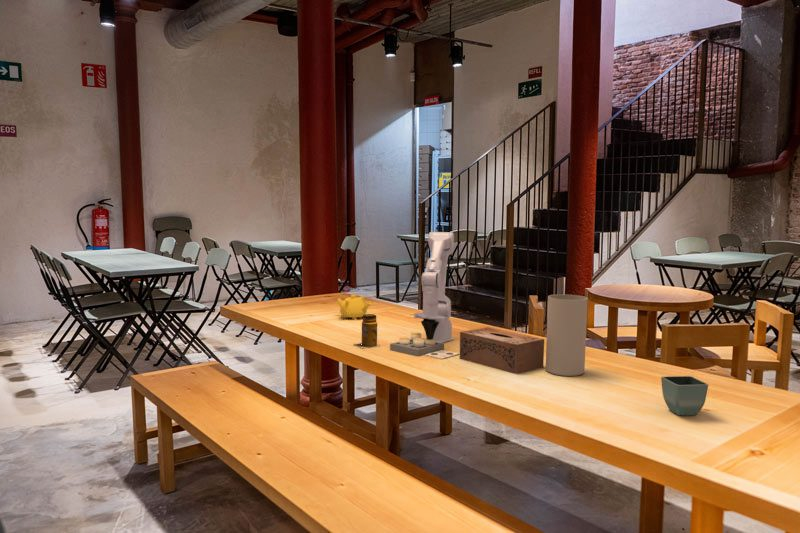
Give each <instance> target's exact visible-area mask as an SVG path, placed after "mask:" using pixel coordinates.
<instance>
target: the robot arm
mask: <svg viewBox="0 0 800 533" xmlns="http://www.w3.org/2000/svg"><path fill="white" fill-rule="evenodd" d="M454 234H455V233H454V232H452V231H450V232H447V231H445V232H443V231H430V232H429V233H428V238H427V240H428V242H427V243H428V247H429V251H430V253H431V256H430V257H429V258H428V259H427V261H426V266H425V270H424V272H422V274H421V279H420V280H421V290H422V312H414V315H413V319H421V321H420V323H421V325H422V328H423V329H424V332H425V338H427V339H429V340H430V339H433V338H434V339H435V342H440V343H447V342H450V341H454V338H452V337H453V333H452V332H453V323H452V321H451V319H450V318H451V316H452V315H451V314H452V301H451V299H450V298H449V297H448V296H447V295H446V283H447V282H446V281H447V269H448V268H447V267H448V259H449V256H450V255H452V254H453V252H454V248H455V235H454Z"/></svg>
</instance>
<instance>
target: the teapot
mask: <svg viewBox="0 0 800 533" xmlns="http://www.w3.org/2000/svg"><path fill="white" fill-rule="evenodd" d="M336 301H337V303H338V305H339V307H340V308H339V314H340V315H341V316H343V318H347V319H349V318H352V319H357V318H359V319H363V318H362V317H363V315H365V314H367V313H368V308H369V307H371V305H372V303H371V302H370V301H367V302H366V299H365V296H359V297H358V296H357V295H356V294H350V297H346V298H344V300H343V299H341V298H340V297H339V298H337V299H336ZM352 319H351V320H352Z"/></svg>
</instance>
